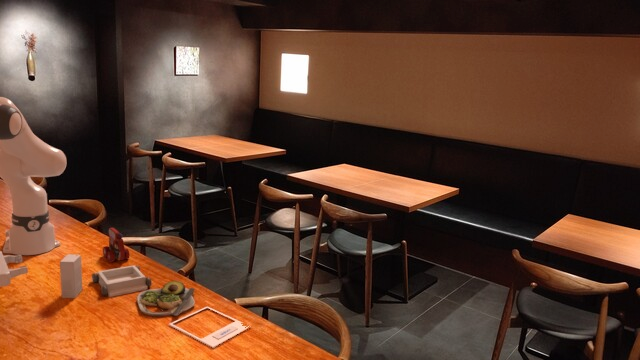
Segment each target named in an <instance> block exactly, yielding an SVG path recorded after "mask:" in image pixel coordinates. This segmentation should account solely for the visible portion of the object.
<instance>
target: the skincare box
mask: <svg viewBox="0 0 640 360" xmlns="http://www.w3.org/2000/svg"><path fill="white" fill-rule="evenodd" d="M59 269H60V270H59V272H60V274H59V275H60V289H61V298H62V299H76V298H77V297H78V295H79V294H80V293H81V292H82V291H83V274H82V273H83V270H82V255H81V254H71V253H70V254H66V256H64V257H63V258H62V259H61V260H59Z"/></svg>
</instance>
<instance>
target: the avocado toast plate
mask: <svg viewBox="0 0 640 360" xmlns="http://www.w3.org/2000/svg"><path fill="white" fill-rule="evenodd" d="M185 286H186V285H185V284H184V283H183V282H181V281H177V280H174V281H173V280H172V281H169V282H166V283H165V284H163V287H161V288H155V289H153V288H152V289H146V290H142V291H141V292H140V293H139V294H137V297H136V303H137V304H138V305H137V306H138V308H139V310H140V312H142V313H143V314H145V315H147V316H152V317H167V316H173V317H177V316H180V314H181V313H184V312H185V311H189V310H190V309H191V308H193V307H194V306H195V303H196V302H195V299H194V297H193V294H194V292H195V288H194V287H190V288H187V287H185ZM147 306H149V307H158V308H160V310H161V309H162V310H163V311H162V310H161V311H156V312H155V311H151V310H149V309H148V308H147ZM166 315H167V316H166Z"/></svg>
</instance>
